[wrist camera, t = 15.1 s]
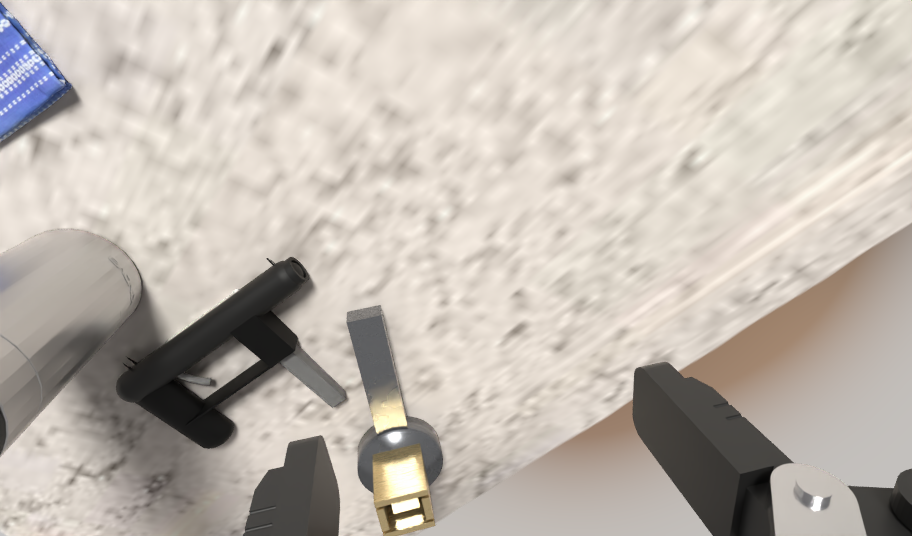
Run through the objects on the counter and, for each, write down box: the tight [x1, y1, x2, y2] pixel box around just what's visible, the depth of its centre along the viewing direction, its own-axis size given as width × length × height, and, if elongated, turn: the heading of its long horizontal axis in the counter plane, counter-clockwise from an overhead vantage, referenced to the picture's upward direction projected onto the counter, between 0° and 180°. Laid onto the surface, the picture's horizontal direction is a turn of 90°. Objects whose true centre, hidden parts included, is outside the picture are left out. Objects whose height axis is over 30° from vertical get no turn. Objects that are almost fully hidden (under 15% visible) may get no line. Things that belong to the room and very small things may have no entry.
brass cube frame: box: [372, 443, 435, 536], centre depth 48 cm, size 5×5×6 cm
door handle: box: [116, 257, 346, 449], centre depth 45 cm, size 3×20×16 cm
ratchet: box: [347, 305, 443, 514], centre depth 47 cm, size 9×22×7 cm, turn 8°
